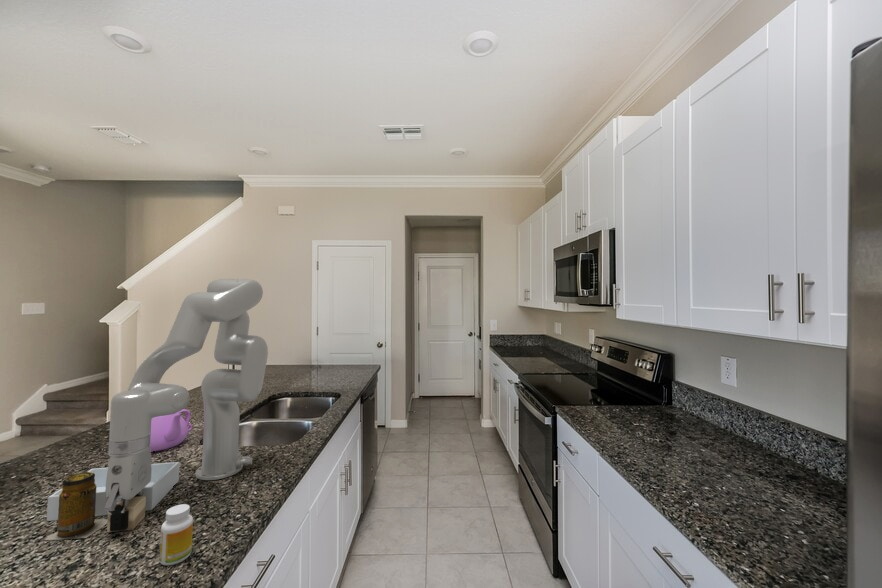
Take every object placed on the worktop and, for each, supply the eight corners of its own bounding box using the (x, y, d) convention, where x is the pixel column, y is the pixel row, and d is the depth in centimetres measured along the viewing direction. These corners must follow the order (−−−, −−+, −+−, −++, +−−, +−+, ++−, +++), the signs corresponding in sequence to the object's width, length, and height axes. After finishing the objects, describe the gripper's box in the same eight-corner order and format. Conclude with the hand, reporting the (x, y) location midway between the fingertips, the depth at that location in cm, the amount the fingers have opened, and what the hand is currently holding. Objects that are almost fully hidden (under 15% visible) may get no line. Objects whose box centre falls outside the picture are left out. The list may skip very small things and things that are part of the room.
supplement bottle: (198, 550, 76) (200, 504, 76) (173, 568, 71) (175, 518, 71) (178, 546, 77) (180, 500, 78) (152, 563, 72) (154, 514, 72)
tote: (178, 481, 105) (179, 461, 105) (151, 510, 90) (152, 487, 91) (90, 489, 100) (91, 468, 100) (46, 521, 85) (48, 497, 85)
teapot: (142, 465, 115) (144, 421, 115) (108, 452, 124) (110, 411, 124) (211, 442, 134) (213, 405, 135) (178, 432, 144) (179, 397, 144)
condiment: (74, 521, 85) (76, 469, 86) (112, 519, 86) (115, 469, 87) (43, 541, 78) (46, 485, 78) (85, 539, 79) (88, 484, 79)
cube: (144, 516, 87) (145, 495, 88) (133, 529, 83) (134, 507, 83) (120, 519, 86) (121, 498, 86) (107, 532, 81) (108, 509, 82)
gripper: (127, 457, 78) (123, 543, 77) (165, 430, 94) (162, 501, 94) (85, 460, 76) (81, 548, 75) (132, 432, 92) (128, 504, 92)
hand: (126, 521), depth 84 cm, fingers closed on cube, 5 cm apart
